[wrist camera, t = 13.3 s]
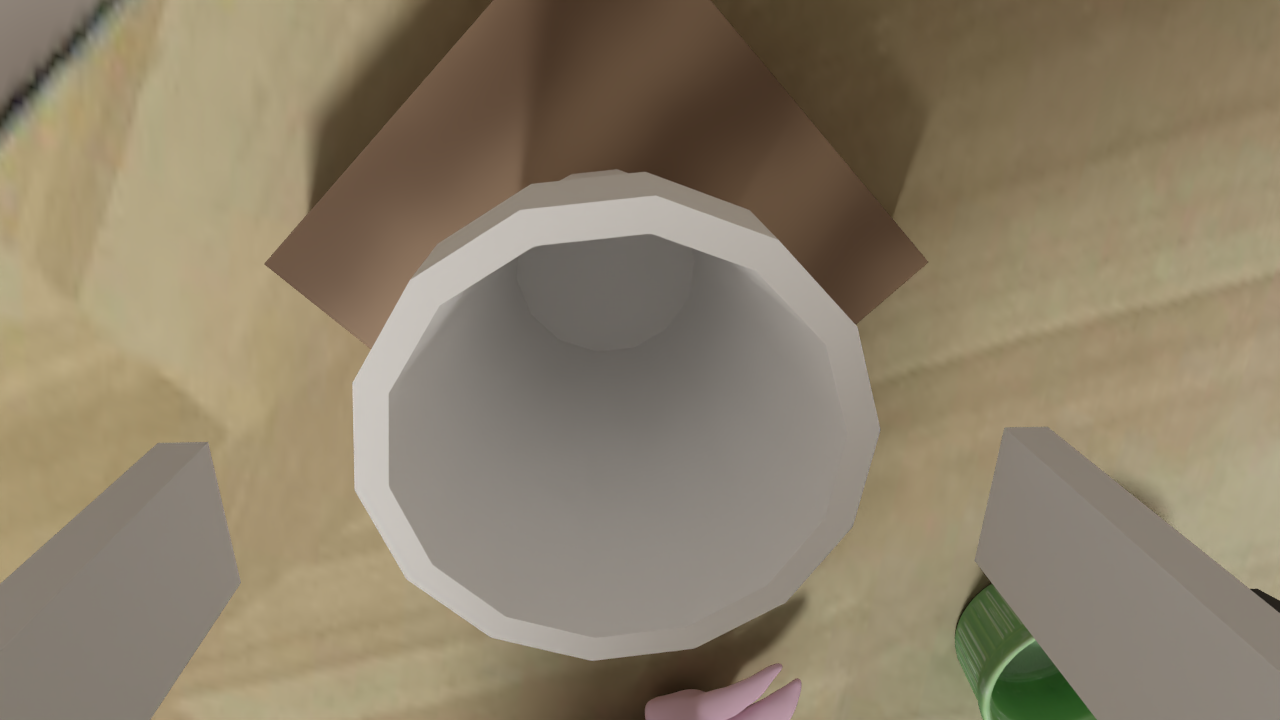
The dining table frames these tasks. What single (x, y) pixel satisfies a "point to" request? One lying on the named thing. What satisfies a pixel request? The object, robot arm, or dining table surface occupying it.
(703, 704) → the rabbit figure
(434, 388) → the foam cup
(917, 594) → the dining table surface
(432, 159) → the walnut base
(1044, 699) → the ramekin
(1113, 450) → the dining table surface
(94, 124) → the dining table surface
